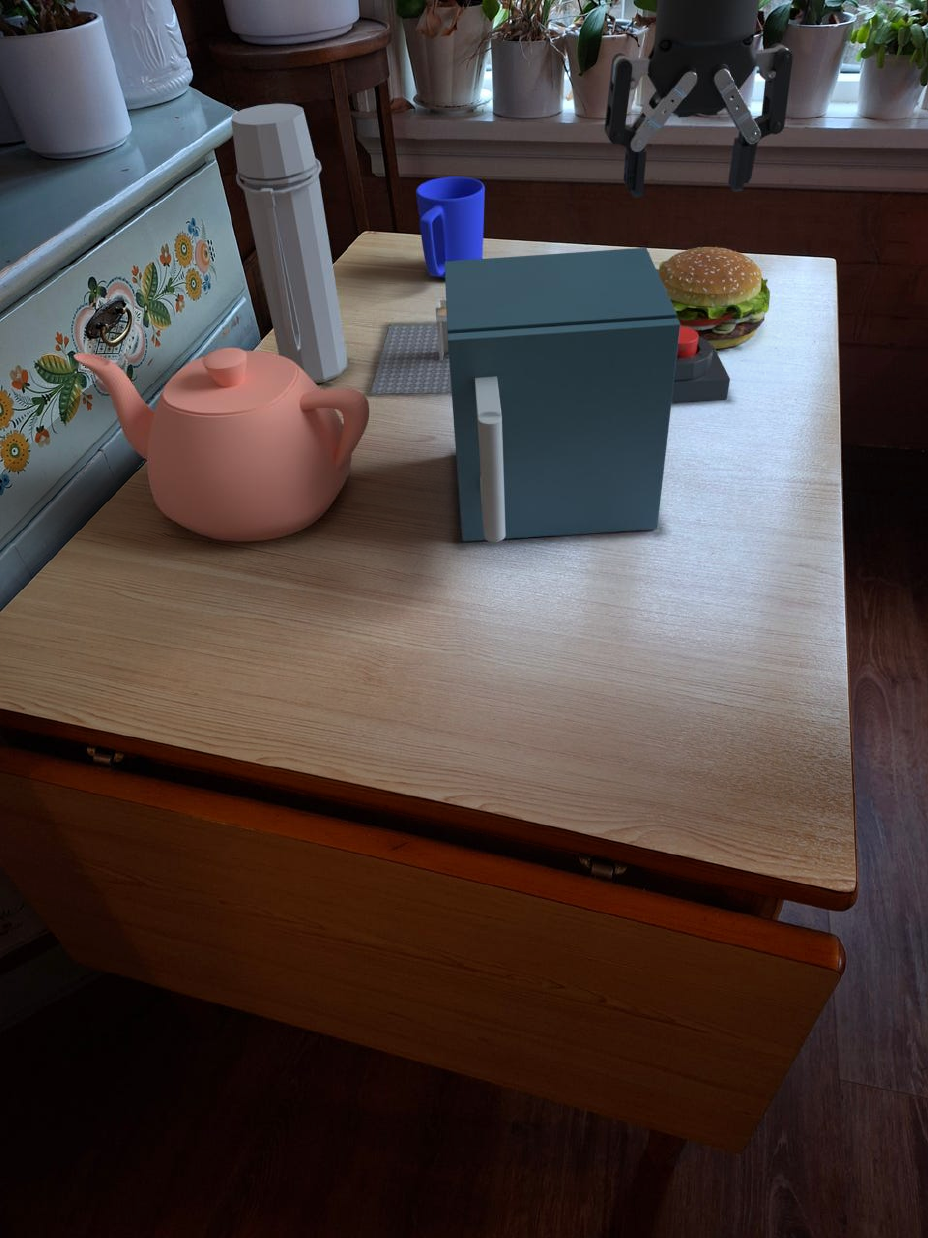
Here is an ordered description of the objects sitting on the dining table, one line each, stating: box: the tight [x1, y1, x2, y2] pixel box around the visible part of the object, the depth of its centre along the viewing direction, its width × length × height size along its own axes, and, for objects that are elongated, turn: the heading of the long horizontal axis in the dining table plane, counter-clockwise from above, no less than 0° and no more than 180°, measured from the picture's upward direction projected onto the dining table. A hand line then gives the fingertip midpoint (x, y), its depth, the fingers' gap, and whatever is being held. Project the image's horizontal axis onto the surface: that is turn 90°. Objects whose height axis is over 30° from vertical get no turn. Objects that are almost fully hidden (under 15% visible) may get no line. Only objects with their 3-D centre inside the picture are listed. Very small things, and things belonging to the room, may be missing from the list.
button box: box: [671, 336, 731, 404], centre depth 90 cm, size 9×7×4 cm
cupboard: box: [444, 247, 677, 334], centre depth 74 cm, size 12×16×18 cm
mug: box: [415, 176, 486, 279], centre depth 110 cm, size 8×12×10 cm
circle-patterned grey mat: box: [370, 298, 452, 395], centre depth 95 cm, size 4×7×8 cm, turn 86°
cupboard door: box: [448, 318, 680, 543], centre depth 66 cm, size 7×16×18 cm, turn 92°
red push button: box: [677, 327, 698, 358], centre depth 88 cm, size 4×4×2 cm
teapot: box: [73, 347, 370, 542], centre depth 77 cm, size 25×17×13 cm
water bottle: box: [230, 103, 348, 384], centre depth 88 cm, size 9×8×25 cm
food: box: [656, 246, 771, 350], centre depth 97 cm, size 14×14×8 cm
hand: (685, 191), depth 78 cm, fingers open, 8 cm apart
